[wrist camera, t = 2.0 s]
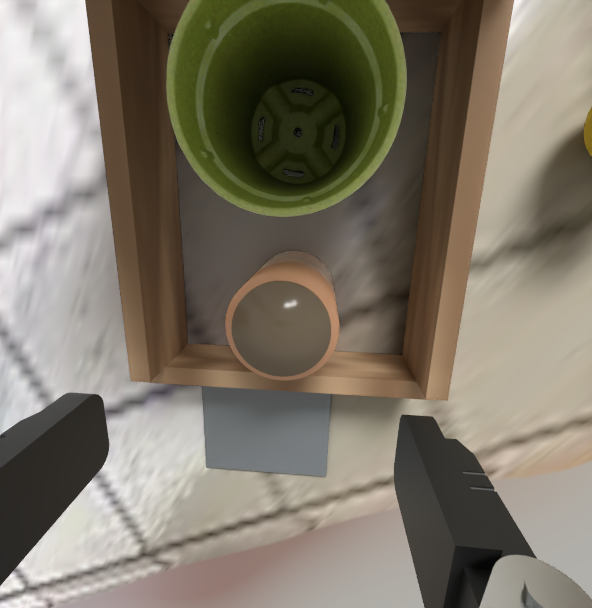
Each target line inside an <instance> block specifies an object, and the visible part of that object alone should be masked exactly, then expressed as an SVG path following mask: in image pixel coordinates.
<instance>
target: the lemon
mask: <svg viewBox="0 0 592 608" xmlns="http://www.w3.org/2000/svg"><path fill="white" fill-rule="evenodd" d="M584 141H585V146H586V148H587V150H588V152H589V154H590V156H591V157H592V107H591V109H590V111H589V113H588V115H587V119H586V122H585V125H584Z"/></svg>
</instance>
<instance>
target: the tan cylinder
mask: <svg viewBox="0 0 592 608" xmlns="http://www.w3.org/2000/svg"><path fill="white" fill-rule="evenodd" d="M225 329H226V335H227V340H228V342H229V345H230V347H231V349H232V351H233V353H234V354H235V356H236V357H237V358H238V359H239V360H240V362H241V363H242V364H243V365H245V366H246V367H247V368H248V369H250V370H251V371H253V372H254V373H256V374H258V375H260V376H263V377H266V378H269V379H273V380H295V379H300V378H303V377H306V376H308V375H310V374H312V373H314V372H316V371H317V370H318V369H320V368H321V367H322V366H323V365H324V364H325V363H326V362H327V361H328V360H329V359H330V357H331V356H332V354H333V352H334V350H335V348H336V346H337V342H338V338H339V318H338V311H337V304H336V297H335V290H334V283H333V279H332V276H331V274H330V272H329V270H328V268H327V267H326V266H325V265H324V263H323V262H321V261H320V260H319V259H318V258H316V257H315V256H313V255H311V254H309V253H306V252H302V251H287V252H283V253H280V254H277V255H275V256H274V257H272V258H271V259H269V260H268V261H267V262H266V263H265V264H264V265H263V266H262V267H261V268H260V269H259V270H258V271H257V272H256V273H255V274H254V275H253V276H252V277H251V278H250V279H249V280H248V281H247V282H246V283H245V284H244V285H243V286H242V287H241V288H240V289H239V290H238V291H237V292H236V294H235V295H234V297H233V298H232V300H231V302H230V304H229V306H228V309H227V313H226V319H225Z"/></svg>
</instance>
